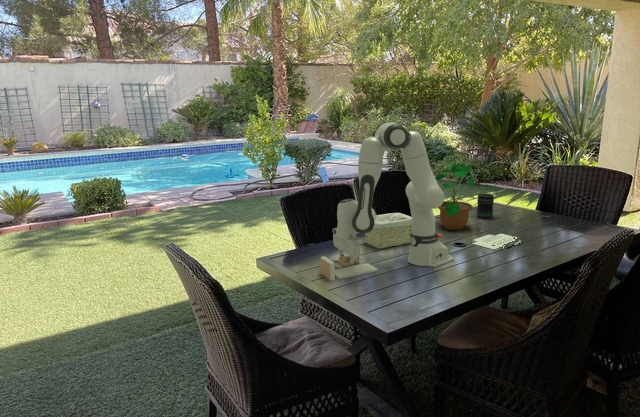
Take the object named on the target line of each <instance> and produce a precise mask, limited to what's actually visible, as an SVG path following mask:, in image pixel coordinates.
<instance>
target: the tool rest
mask: <svg viewBox="0 0 640 417" xmlns="http://www.w3.org/2000/svg"><path fill="white" fill-rule="evenodd" d="M378 270H379V269H378V268H377V267H375V266H373V265H371V264H370V263H368V262H367V263H363V264H358V265H357V264H355V265H350V266H345V267H342V268H339V269H335V278H337V279H338V280H342V279H346V278H347V279H348V278H352V277H356V276H361V275H365V274H370V273H376V272H378Z"/></svg>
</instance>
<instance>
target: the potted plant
mask: <svg viewBox="0 0 640 417" xmlns="http://www.w3.org/2000/svg"><path fill="white" fill-rule="evenodd" d="M443 167H446V168H451V171H450V170H443V171H442V172H441V173H440V174H436V176H434V177H435V179H436V181H440V180H443V179H444V184H443V188H445V189H446V190H447V192H448V194H449V196H450V198H452V199H453V200H451V201H450V200H449V199H447V198H445V197H444V202H443V203H442V205H441V206H439V207H438V208H437V209H439V220H440V222H441V225H442V226H443V227H444V228H445V229H446V230H448V231H461V230H463V228H464V227H465V226H466V225H467V224H468V221H469V218H470V217H469V215H470V214H469V213H470V212H471V210H472V209H473V204H471V203H469V202H465V201H459V199H460V198H461V197H462V194H463V193H464V191H465V189H466V187H467V185H469V187H470V188H473V187H474V186H475V182H474V176H473V175H472V174H473V173H474V174H476V172H475V171H474V170H473V169H471V168H467V166H466V165H464V164H462V163H456V164H452V163H448V164H443V165H441V166H440V168H443ZM450 172H452V173H453V174H454V175H455V179H454V183H456V180H457V178H461V179H460V182H459V183H458V186H457V189H456V184H452V183H451V182H450V181H451V180H450ZM468 172H470V173H469V176H468V179H467V180H468V181H467V183H466V184H465V187H464V189H462V192H461V194H460V195H459V196H458V198H457V199H456V194H457V192H458V189H459V186H460V185H461V182H462V180H463V178H464V176H466V175H467V173H468ZM471 172H473V173H471ZM453 186H454V187H453ZM448 189H449V190H448ZM445 200H446V201H445Z"/></svg>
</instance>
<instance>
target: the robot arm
mask: <svg viewBox="0 0 640 417" xmlns="http://www.w3.org/2000/svg"><path fill="white" fill-rule="evenodd" d="M388 148H391V149H399V150H400V153H401V156H402V160H403V164H404V168H405V172H406V175H407V176H408V178H409V180H410V181H409V182H408V184H407V185H406V187H405V194H406V196H407V199H408V203H409V209H410V215H411V216H410V217H412V232H411V237H410V240H411V243H410V248H409V254H408V257H407V262H408V263H410V264H412V265H414V266H418V267H419V266H420V267H431V268H437V267H439V266H441V265H445V264H447V263H451V262H453V261H454V257H453V256H452V255H450V254H449V252H450V251H449V248H448V246H446V245H445V244H444V243H442V242H441V241H440V240H439V239H442V238H443V234H441V233H437V232H436V215H435V214H434V211H433V209H439V208H438V207H439V206H441V205H442V203H443V202H445V199H444V198H445V193H444V191H443V190H442V189H441V187H440V185H439V184H438V180H436V178H435V177H436V176H435V175H434V172H433V170H432V168H431V167H432V166H431V164H430V160H429V157H428V153H427V148H426V146H425V142H424V139H423V138H422V135H421V134H420V133H419V132H418V131H415V130H409V131H408V130H407V129H406V128H405V127H404V126H403V125H401V124H399V123H396V122H394V121H393V122H391V121H385V122H382V123H380V124H379V125H378V126H377V127H376V129H375V130H374V132H373V134H372V135H371V136H369V137H366V138H364V139H362V143H361V146H360V149H359V154H358V162H357V164H358V166H357V170H358V172H357V173H358V181H359V182H358V184H359V185H358V186H359V192H358V201H356V200H355V199H354V198H345V199H342V200H340V202H338V204H337V211H336V216H337V217H336V219H337V226H336V227H335V228H332V233H333V235H332V238H333V239H332V240H333V246H334V247H335V248H337V251H338V253H339V254H338V255H339V257H344V256H345V254H347V255H348V256H350V257H351V258H350V260H349V263H350V264H353V263H354V259H355V257H358V256H359V257H360V255H361V245H360V241H359V240H358V238H357V233H359V234H363V235H365V234H366V233H369V232H370V231H372V229H373V228H374V222H375V218H376V215H377V213H376V211H375V209H374V208H373V200H374V199H373V198H374V192H375V189H376V187H377V184H378V182H379V181H380V180H379V179H380V177H381V174H382V171H383V163H384V155H385V152H386V151H387V149H388ZM344 253H345V254H344ZM353 265H354V264H353Z"/></svg>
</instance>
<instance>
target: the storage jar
mask: <svg viewBox="0 0 640 417" xmlns="http://www.w3.org/2000/svg"><path fill="white" fill-rule="evenodd" d="M494 197H495V196H494V194H491V193H479V194H477V200H476V201H477V202H476V203H477V208H476V219H478V220H483V221H487V220H488V221H489V220H493V216H494V215H493V214H494V210H493V208H494V200H495V199H494Z"/></svg>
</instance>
